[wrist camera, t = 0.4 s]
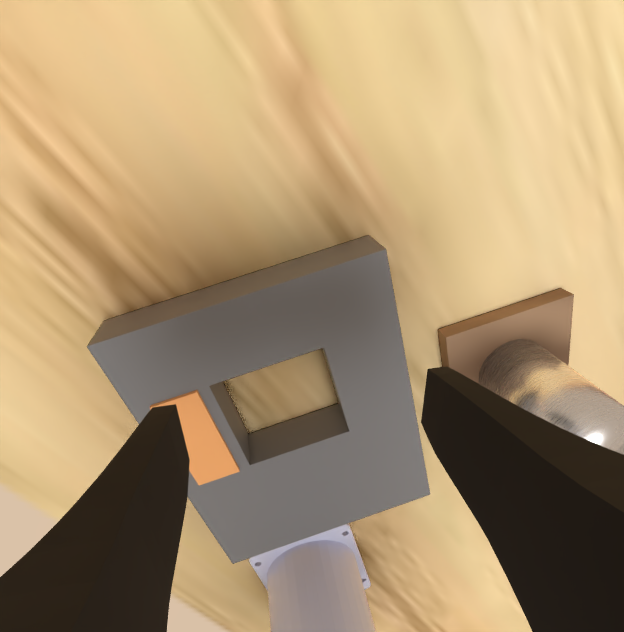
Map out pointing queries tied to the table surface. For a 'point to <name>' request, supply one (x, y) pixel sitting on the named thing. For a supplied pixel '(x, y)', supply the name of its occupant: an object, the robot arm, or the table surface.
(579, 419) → the steel peg
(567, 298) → the tab
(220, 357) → the hole plate
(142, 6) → the table surface
